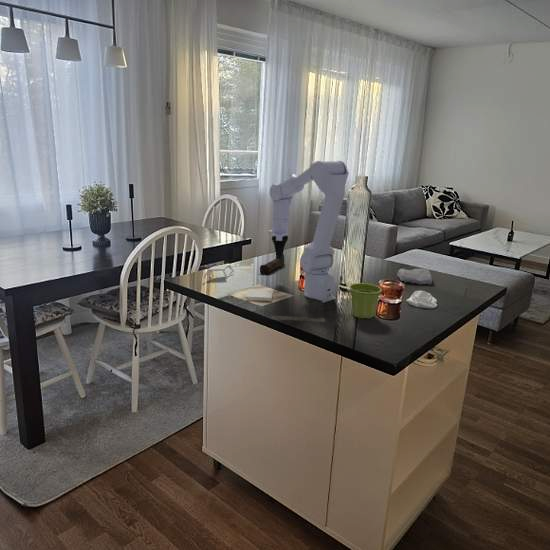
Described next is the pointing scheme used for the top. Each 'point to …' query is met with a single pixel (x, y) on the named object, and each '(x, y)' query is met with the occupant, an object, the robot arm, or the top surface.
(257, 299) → the tile
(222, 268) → the origami figure
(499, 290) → the top surface
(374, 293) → the plant pot
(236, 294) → the board
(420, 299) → the white rock
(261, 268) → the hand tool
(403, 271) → the stone block
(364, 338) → the top surface
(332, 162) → the robot arm
